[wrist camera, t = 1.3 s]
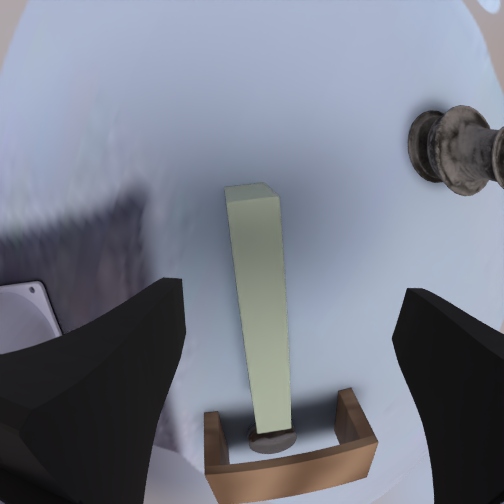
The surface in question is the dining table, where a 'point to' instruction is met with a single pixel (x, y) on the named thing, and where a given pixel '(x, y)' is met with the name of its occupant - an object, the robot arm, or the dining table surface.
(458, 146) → the salt shaker
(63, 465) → the robot arm
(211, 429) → the wooden bridge block
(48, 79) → the dining table surface
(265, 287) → the bar
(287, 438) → the disc
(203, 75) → the dining table surface
